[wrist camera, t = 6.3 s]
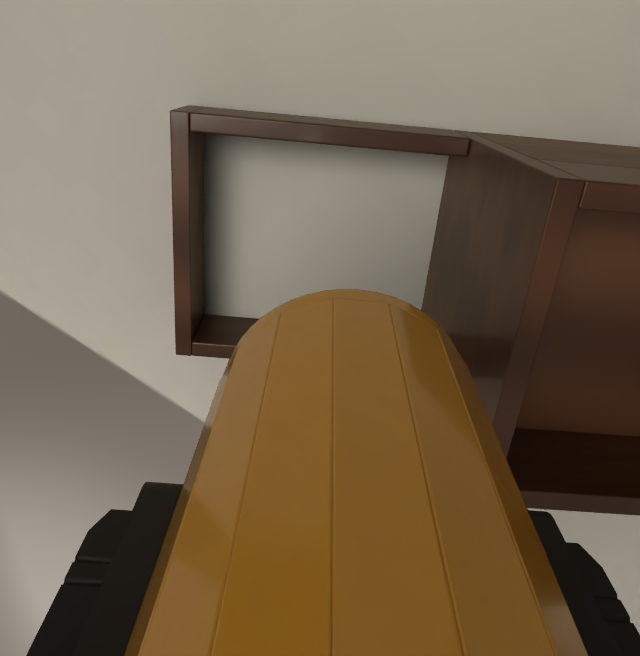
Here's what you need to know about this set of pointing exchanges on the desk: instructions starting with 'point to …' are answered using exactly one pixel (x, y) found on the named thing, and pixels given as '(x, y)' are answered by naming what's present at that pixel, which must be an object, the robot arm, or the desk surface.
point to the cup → (351, 503)
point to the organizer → (490, 288)
